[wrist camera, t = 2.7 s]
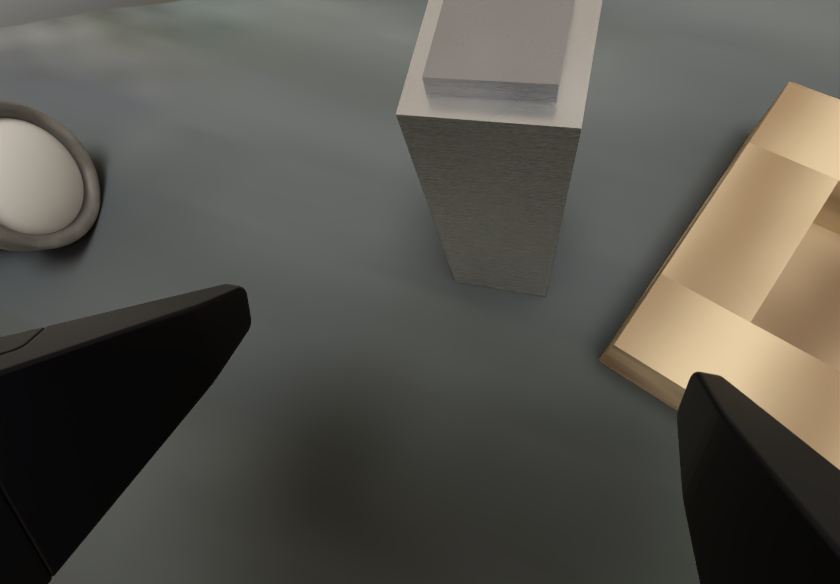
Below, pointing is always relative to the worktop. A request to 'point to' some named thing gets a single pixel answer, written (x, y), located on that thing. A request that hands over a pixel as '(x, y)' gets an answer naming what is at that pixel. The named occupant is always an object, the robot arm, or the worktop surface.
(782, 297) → the socket block
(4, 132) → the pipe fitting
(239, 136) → the worktop surface
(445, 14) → the grey rectangular block
